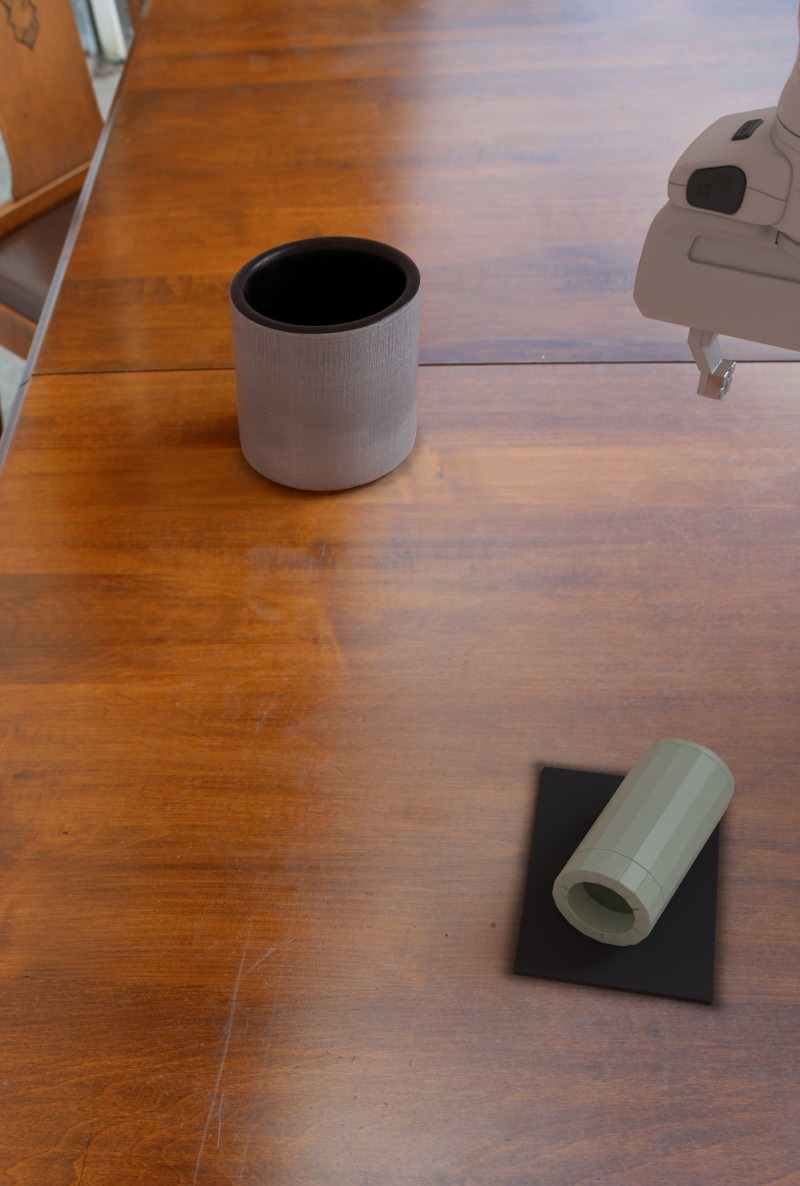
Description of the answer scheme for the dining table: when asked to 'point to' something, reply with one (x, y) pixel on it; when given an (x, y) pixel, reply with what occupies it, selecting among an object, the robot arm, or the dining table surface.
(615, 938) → the green hollow cylinder
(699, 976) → the mat
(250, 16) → the dining table surface
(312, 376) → the planter
